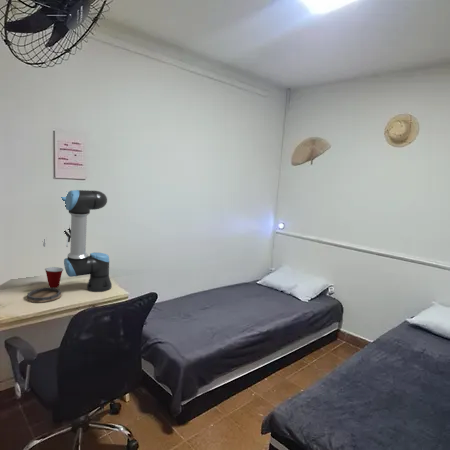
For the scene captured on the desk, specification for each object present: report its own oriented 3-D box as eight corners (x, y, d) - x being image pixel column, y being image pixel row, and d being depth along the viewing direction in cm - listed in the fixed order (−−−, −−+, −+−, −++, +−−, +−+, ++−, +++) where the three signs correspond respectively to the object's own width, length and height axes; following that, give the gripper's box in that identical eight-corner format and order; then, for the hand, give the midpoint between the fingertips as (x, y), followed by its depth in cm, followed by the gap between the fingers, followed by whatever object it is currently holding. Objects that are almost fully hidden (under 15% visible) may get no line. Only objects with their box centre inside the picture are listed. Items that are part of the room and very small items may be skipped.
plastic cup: (66, 286, 216) (66, 269, 214) (49, 290, 208) (48, 272, 206) (59, 282, 223) (59, 265, 221) (42, 285, 215) (42, 267, 213)
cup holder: (66, 291, 207) (66, 287, 207) (54, 303, 189) (54, 299, 189) (35, 290, 205) (35, 286, 205) (20, 302, 187) (20, 298, 187)
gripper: (78, 221, 236) (76, 248, 226) (39, 220, 228) (35, 248, 218) (78, 216, 230) (75, 243, 220) (37, 214, 222) (33, 242, 212)
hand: (55, 245), depth 219 cm, fingers open, 13 cm apart
